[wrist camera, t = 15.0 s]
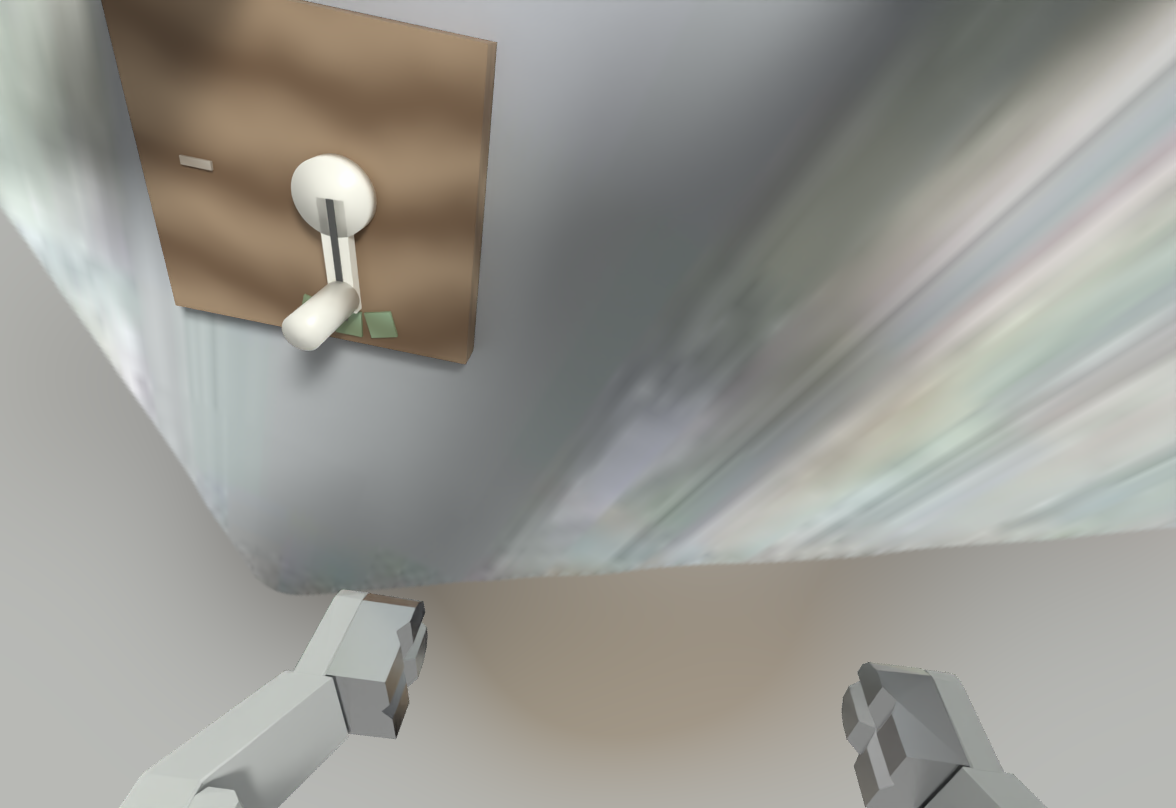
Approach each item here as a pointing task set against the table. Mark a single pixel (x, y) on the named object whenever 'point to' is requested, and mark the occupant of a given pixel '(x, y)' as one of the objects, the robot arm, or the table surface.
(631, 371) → the table surface
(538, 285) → the table surface
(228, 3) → the dial board
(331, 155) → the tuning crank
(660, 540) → the table surface
